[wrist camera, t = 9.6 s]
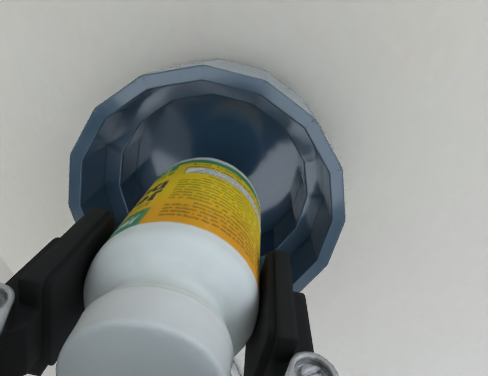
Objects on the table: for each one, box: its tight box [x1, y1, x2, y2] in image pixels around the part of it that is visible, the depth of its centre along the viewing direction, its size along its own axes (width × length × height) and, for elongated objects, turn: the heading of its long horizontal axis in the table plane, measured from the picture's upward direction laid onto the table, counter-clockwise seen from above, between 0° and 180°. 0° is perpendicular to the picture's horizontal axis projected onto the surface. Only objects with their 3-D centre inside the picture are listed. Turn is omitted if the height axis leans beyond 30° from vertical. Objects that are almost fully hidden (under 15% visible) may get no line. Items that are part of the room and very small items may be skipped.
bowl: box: [69, 59, 345, 292], centre depth 19 cm, size 13×13×6 cm
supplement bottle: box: [56, 158, 261, 376], centre depth 12 cm, size 5×5×10 cm
